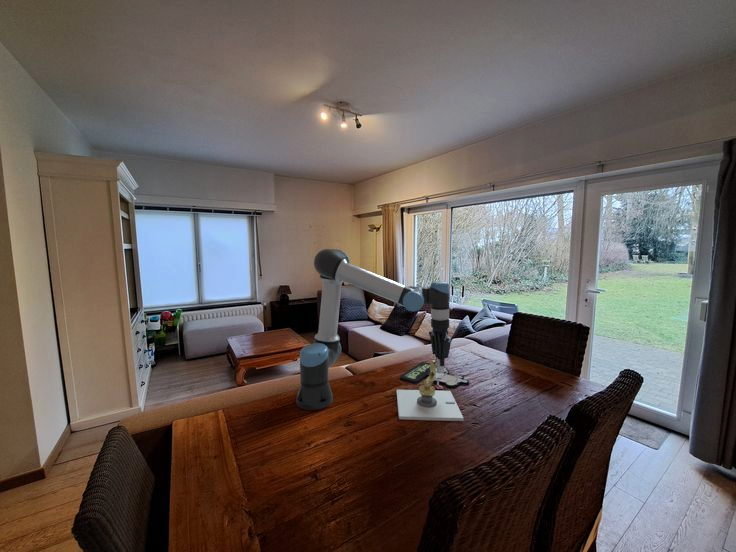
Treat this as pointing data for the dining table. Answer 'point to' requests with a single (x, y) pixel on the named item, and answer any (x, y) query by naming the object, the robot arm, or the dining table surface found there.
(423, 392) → the brass lever knob
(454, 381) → the sign
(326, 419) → the dining table surface
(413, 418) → the post board
